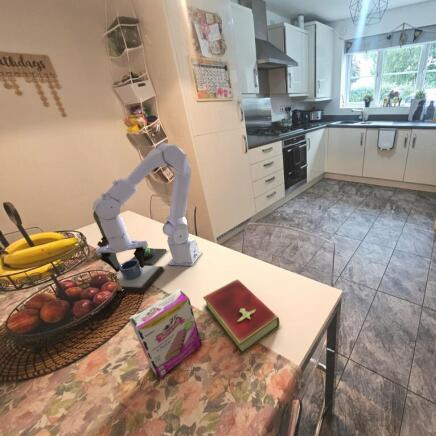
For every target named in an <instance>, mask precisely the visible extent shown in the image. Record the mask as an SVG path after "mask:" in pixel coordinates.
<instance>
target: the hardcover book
mask: <svg viewBox="0 0 436 436" xmlns="http://www.w3.org/2000/svg"><path fill="white" fill-rule="evenodd" d="M202 298H203V300H204V301H205V302H206V305H205V306H204V307H205V308H206V310H207V311H208V312H209V313H210V315H211V316H212V318H213V319H214V320H215V321H216V323H217V325H218V326H219V327H220V328H221V329H222V331H223V333H225V335H226V336H227V338H228V339H229V340H230V341H231V343H232V344H233V345H234V347H235V348H236V349H237V350H238V352H239V353H240V355H243V354H245V353H246V352H247V351H249V350H250V349H252V348H253V347H254V346H256V345H257V344H258V343H260V342H261V341H262V340H264V339H265V338H266V337H268V336H269V335H270V334H272V333H273V332H275V331H276V330H277V329H279V327H280V317H279V316H278V315H277V314H276V313H274V312H273V311H272V310H271V309H270V308H269V307H268V306H267V305H266V304H265V303H264V302H263V301H261V299H260V298H258V297H257V296H256V295H255V294H254V293H253V292H252V291H251V290H250V289H249V288H248V287H247V286H245V284H243V283H242V282H241V280H239V279H238V278H236V279H234V280H232V281H231V282H229V283H227V284H225V285H223V286H221V287H220V288H217V289H215V290H213V291H211V292H210V293H208V294H206V295H203V296H202Z"/></svg>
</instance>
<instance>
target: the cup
mask: <svg viewBox="0 0 436 436" xmlns="http://www.w3.org/2000/svg"><path fill="white" fill-rule="evenodd" d="M119 269H120V270H119V272H120V271H121V273H122V276H123V278H124V279H127V280H132V279H135V278H137V277H139V276H140V275H141V273H142V268H141V267H140V265H139V262H138V260H131V259H129V260H126V261H125V262H122V263H121V264H120V267H119Z"/></svg>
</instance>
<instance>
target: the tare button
mask: <svg viewBox="0 0 436 436" xmlns="http://www.w3.org/2000/svg"><path fill="white" fill-rule="evenodd" d="M149 248H150V247H147V248H146V249H145V255H146V254H148V253H150V249H149Z"/></svg>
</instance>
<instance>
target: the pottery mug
mask: <svg viewBox="0 0 436 436" xmlns="http://www.w3.org/2000/svg"><path fill="white" fill-rule="evenodd" d="M108 245H109V242H108V240H107V238H106V235H104V236H102V237H101V238H100V241H98V242H97V246H98V247H104V246H108Z"/></svg>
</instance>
